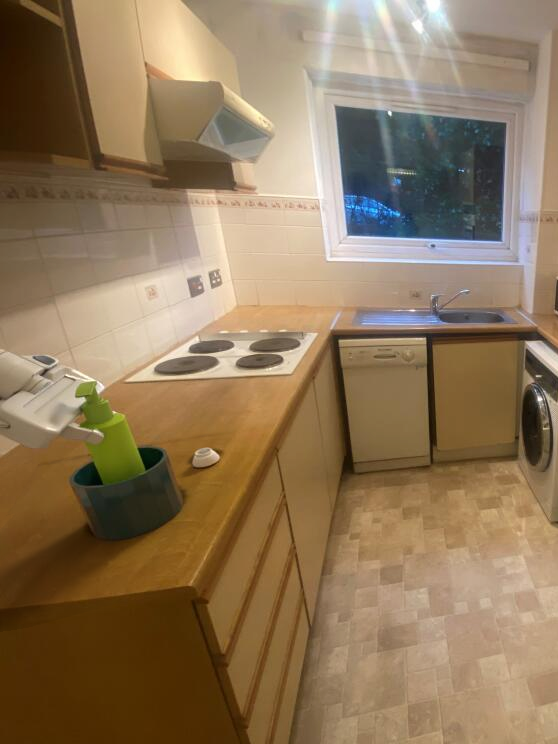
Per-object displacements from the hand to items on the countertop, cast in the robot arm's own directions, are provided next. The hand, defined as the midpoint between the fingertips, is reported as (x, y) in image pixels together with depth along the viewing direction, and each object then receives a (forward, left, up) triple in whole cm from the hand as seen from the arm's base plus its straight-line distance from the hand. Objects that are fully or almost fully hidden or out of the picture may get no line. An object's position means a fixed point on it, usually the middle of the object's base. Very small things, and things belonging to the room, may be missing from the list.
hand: (110, 429), depth 74 cm
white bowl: (+7, +16, -18) cm, 25 cm away
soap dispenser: (-1, 0, -11) cm, 11 cm away
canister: (-1, 0, -18) cm, 18 cm away
